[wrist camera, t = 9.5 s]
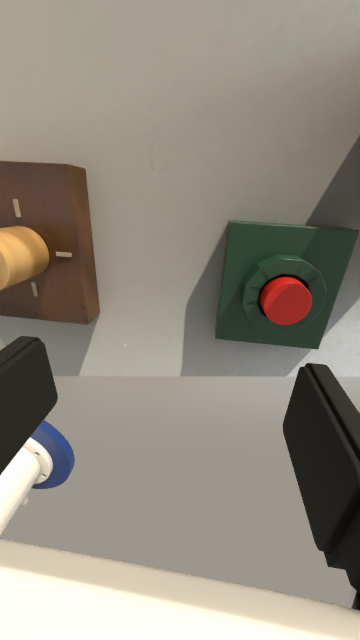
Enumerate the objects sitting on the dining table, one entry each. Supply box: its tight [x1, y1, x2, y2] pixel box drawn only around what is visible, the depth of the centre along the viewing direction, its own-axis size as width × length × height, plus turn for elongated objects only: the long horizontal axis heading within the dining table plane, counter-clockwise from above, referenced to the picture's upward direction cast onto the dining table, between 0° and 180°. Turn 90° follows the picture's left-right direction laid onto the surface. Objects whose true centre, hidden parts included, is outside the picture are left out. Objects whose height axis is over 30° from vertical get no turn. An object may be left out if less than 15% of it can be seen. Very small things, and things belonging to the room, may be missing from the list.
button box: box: [215, 221, 359, 349], centre depth 22 cm, size 11×10×4 cm
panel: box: [0, 161, 100, 324], centre depth 24 cm, size 14×10×3 cm
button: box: [260, 277, 312, 325], centre depth 20 cm, size 4×4×2 cm
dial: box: [0, 226, 49, 291], centre depth 20 cm, size 4×4×5 cm
